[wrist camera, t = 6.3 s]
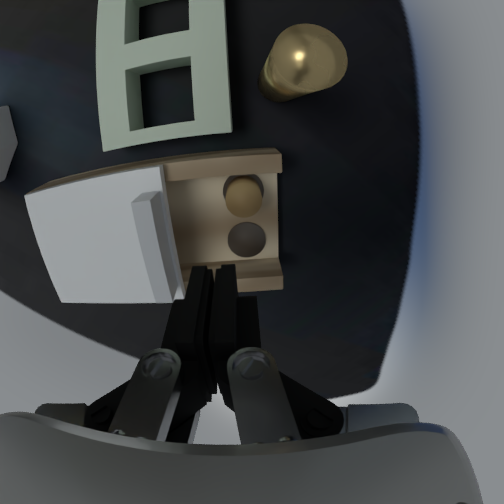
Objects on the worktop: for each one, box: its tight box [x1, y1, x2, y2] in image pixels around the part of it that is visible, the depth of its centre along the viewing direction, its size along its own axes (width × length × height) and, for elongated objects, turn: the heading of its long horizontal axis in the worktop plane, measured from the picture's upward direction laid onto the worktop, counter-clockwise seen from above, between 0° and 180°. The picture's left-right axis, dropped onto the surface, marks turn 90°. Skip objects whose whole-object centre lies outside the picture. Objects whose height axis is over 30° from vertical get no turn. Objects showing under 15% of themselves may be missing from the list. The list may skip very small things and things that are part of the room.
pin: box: [258, 24, 347, 102], centre depth 13 cm, size 3×3×10 cm
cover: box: [24, 164, 186, 303], centre depth 17 cm, size 10×12×3 cm
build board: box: [96, 0, 233, 152], centre depth 14 cm, size 13×9×3 cm
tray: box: [27, 148, 283, 292], centre depth 20 cm, size 10×20×4 cm, turn 93°
